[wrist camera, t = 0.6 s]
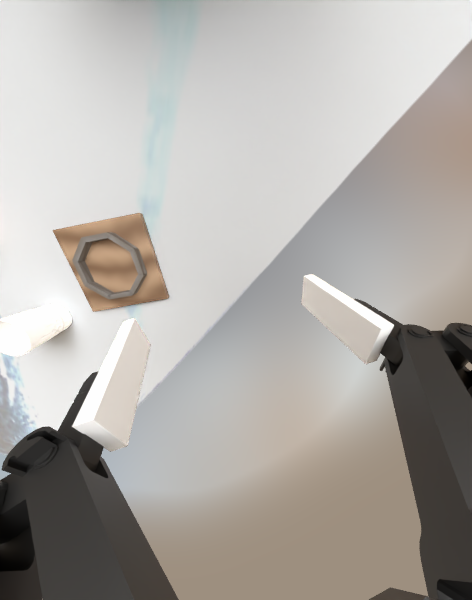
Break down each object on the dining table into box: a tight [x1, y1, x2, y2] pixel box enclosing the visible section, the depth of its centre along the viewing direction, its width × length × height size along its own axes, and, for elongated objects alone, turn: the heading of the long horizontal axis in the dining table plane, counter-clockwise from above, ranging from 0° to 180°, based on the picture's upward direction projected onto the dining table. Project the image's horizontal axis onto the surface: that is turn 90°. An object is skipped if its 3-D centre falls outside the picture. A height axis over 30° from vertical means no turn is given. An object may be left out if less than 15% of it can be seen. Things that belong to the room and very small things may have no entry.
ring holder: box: [53, 213, 169, 312], centre depth 37 cm, size 18×18×3 cm
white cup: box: [0, 304, 72, 356], centre depth 37 cm, size 8×8×10 cm
